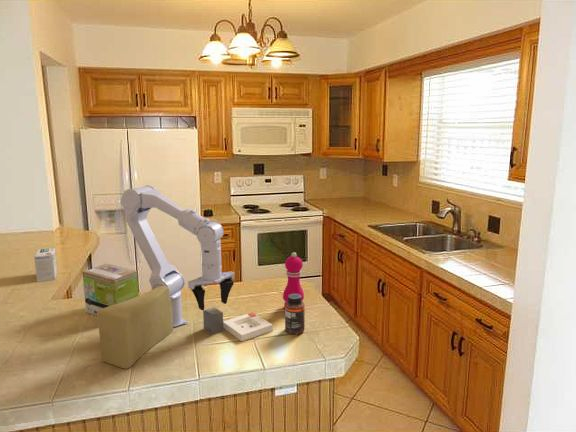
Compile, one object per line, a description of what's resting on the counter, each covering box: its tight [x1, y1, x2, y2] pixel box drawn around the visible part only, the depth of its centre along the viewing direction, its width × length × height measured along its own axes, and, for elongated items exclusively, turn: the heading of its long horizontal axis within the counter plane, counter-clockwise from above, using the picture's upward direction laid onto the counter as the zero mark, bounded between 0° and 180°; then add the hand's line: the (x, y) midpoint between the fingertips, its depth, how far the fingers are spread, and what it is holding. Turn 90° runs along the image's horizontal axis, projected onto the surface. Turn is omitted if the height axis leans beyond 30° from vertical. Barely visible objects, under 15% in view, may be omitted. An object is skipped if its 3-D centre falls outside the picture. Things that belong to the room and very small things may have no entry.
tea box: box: [81, 263, 140, 317], centre depth 140 cm, size 15×10×15 cm, turn 62°
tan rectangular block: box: [97, 286, 174, 370], centre depth 118 cm, size 22×10×15 cm, turn 154°
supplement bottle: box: [284, 294, 306, 335], centre depth 129 cm, size 6×6×11 cm
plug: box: [202, 306, 224, 336], centre depth 129 cm, size 4×5×6 cm
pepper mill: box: [282, 251, 305, 309], centre depth 144 cm, size 7×7×20 cm
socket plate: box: [223, 312, 274, 342], centre depth 130 cm, size 11×11×2 cm
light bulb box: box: [33, 247, 58, 283], centre depth 173 cm, size 11×7×11 cm, turn 25°
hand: (212, 305), depth 128 cm, fingers open, 7 cm apart
